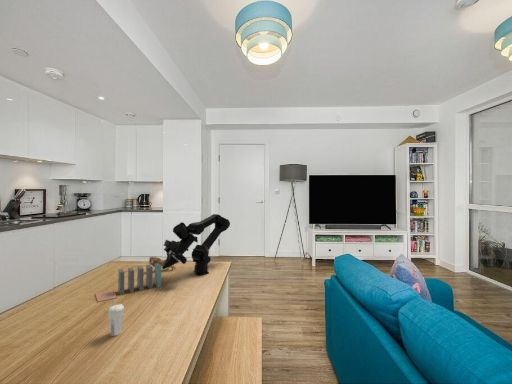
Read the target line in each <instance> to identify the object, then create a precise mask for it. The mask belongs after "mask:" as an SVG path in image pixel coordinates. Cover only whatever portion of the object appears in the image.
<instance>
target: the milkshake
mask: <svg viewBox="0 0 512 384" xmlns="http://www.w3.org/2000/svg"><path fill="white" fill-rule="evenodd" d="M124 311H125V306H124V305H123V304H122V303H117V304H114V299H111V306H110V307H109V308H107V315H108V324H109V326H108V327H109V335H110V336H111V337H116V336H119V335H121V334H122V331H123V322H124Z"/></svg>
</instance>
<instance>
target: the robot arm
mask: <svg viewBox="0 0 512 384" xmlns="http://www.w3.org/2000/svg"><path fill="white" fill-rule="evenodd" d="M211 225H214V228H213V230H212V231H211V232H210V233H209V235H208V236H207V237H206V239H204V241H203V242H202V244H196V245H195V247H194V248H192V252H191V259H192V262H193V263H195V265H193V266H194V267H193V273H195V274H196V275H197V276H201V275H203V276H204V275H207V274H209V273H210V272H209V263H210V262H211V257H210V256H209V254H210V252H209V251H210V249H211V247H212V246H213V245H214V243H215V242H216V240H218V238H219V236H221V234H222V233H223V232H225V231H227V230H228V228H229V227H230V225H231V222H230V220H229V219H227V218H225V217H224V216H222V215H220V214H218V213H216V214H215V213H212V214H211V215H210V216H208V217H206V218H204V219H201V220H200V221H195V222H191V223H189V224H188V225H186V223H184V222H183V221H181V222H180V223H178V224H177V225H175V226H174V227H173V228H172V232H173V233H174V235H176V236H177V238H178V239H180V240H179V241H175V240H169V239H165V241H164V244H163V247H164V248H163V250H164V251H165V252H166V253H165V255H166V258H165V259H166V261H165V263H164V265H163V266H161V269H162V270H165V269H167V268H168V267H170V266H173V265H174V266H175V265H176V264H179V263H180V262H181V264H183V265H185V264H186V263H187V262H188V261H187V260H188V258H187V257H186V256H184V254H185V253H186V251H187V252H188V251H189V248H190V247H191V246H192V244H193V243H194V242H195V243H198V242H199V240H198V237H197V236H199V235H201V234H202V233H203V232H204V231H205V229H207V228H208V227H210V226H211ZM196 235H197V236H196ZM179 261H180V262H179Z"/></svg>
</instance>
